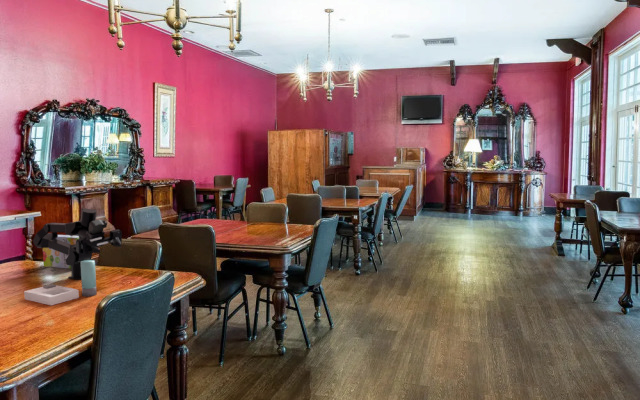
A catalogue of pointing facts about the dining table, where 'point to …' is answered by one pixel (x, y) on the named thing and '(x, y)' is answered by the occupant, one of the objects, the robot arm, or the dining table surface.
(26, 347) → the dining table surface
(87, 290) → the plug
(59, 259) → the snack box
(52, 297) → the socket plate
